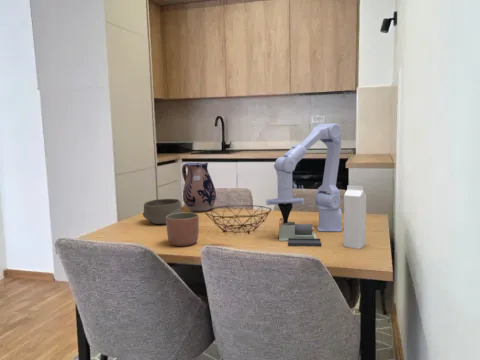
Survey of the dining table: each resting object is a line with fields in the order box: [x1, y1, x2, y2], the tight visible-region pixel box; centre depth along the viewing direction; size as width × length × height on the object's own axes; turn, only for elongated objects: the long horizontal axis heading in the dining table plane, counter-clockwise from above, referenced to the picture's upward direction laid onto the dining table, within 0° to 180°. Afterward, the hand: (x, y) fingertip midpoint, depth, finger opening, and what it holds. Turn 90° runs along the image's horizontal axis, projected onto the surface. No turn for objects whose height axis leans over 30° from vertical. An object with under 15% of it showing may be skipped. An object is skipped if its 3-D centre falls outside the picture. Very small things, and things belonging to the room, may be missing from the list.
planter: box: [165, 211, 200, 247], centre depth 163 cm, size 12×12×11 cm
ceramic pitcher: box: [181, 162, 217, 213], centre depth 226 cm, size 18×21×25 cm
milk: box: [343, 184, 367, 250], centre depth 153 cm, size 6×6×22 cm
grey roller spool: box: [288, 223, 315, 235], centre depth 166 cm, size 11×4×4 cm, turn 83°
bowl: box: [142, 198, 183, 225], centre depth 200 cm, size 17×18×10 cm
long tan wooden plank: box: [278, 217, 283, 227], centre depth 166 cm, size 1×9×1 cm, turn 173°
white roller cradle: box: [278, 221, 317, 242], centre depth 167 cm, size 14×9×6 cm, turn 83°
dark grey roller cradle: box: [287, 237, 322, 247], centre depth 159 cm, size 12×6×1 cm, turn 83°
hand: (285, 222), depth 167 cm, fingers closed
